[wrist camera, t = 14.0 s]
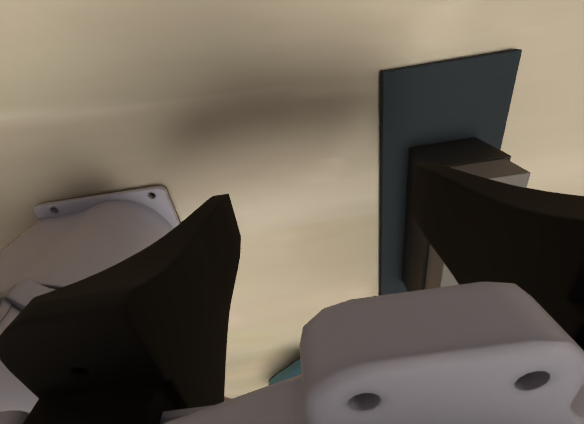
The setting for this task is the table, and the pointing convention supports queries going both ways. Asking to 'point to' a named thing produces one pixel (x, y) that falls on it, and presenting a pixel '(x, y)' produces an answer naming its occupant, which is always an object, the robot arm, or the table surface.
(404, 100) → the desk mat
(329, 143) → the table surface
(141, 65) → the table surface
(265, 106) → the table surface
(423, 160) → the grey rectangular block
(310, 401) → the robot arm
